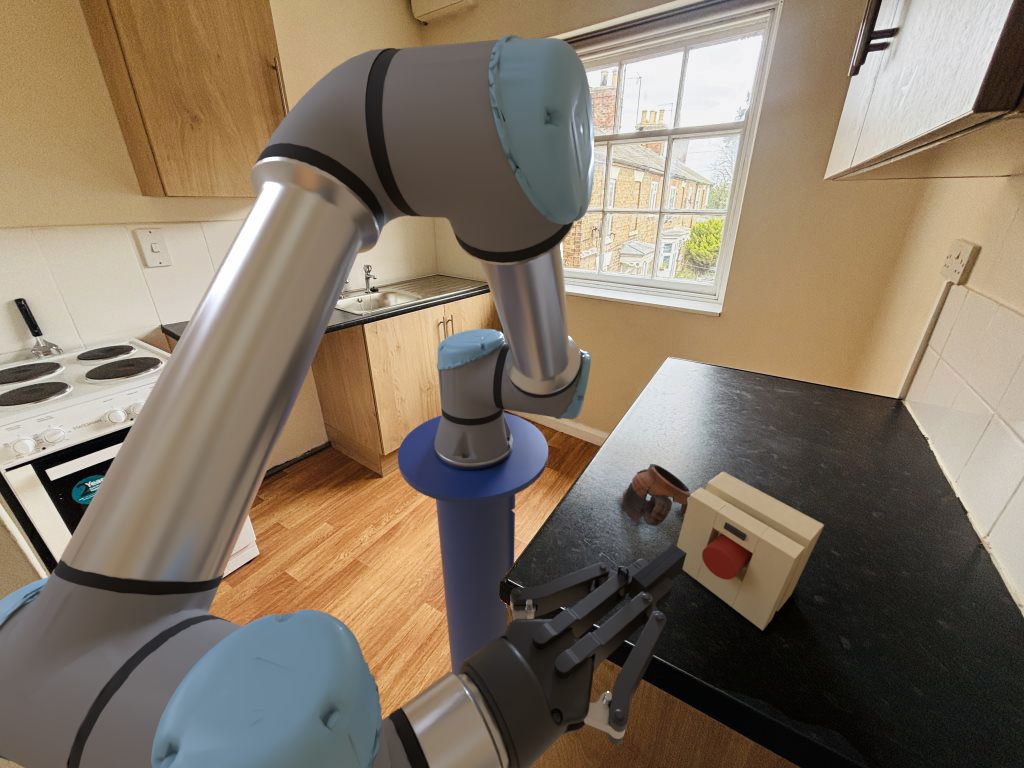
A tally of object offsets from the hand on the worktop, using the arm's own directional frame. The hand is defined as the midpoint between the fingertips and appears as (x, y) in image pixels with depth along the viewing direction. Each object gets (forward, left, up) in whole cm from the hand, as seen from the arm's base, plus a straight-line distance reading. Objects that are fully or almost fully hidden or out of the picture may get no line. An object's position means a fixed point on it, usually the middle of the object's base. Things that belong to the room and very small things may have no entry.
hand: (677, 558), depth 41 cm
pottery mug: (-12, +16, -13) cm, 24 cm away
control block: (+1, +15, -13) cm, 20 cm away
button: (+1, +11, -8) cm, 13 cm away
